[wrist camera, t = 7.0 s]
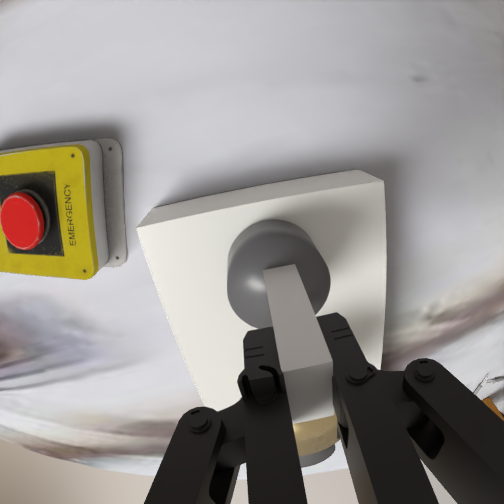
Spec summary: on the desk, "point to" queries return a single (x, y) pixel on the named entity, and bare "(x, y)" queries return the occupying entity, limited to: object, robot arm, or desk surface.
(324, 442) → the knob middle
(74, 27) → the desk surface
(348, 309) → the mount plate
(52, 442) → the desk surface
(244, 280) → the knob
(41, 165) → the emergency button
